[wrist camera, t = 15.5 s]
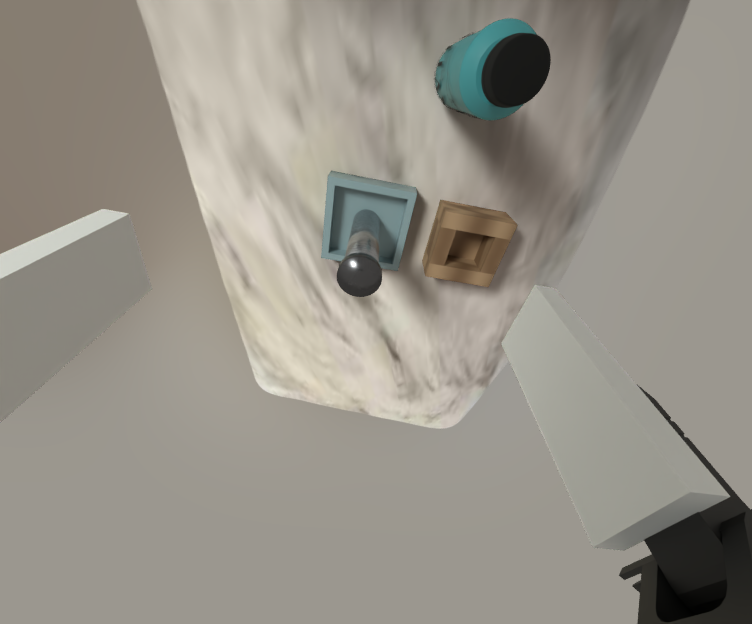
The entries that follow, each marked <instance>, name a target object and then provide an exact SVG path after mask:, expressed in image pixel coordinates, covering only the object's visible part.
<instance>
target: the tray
mask: <svg viewBox="0 0 752 624" xmlns="http://www.w3.org/2000/svg"><path fill="white" fill-rule="evenodd" d="M416 197H417V191H416V187H411V186H406V185H401V184H396V183H391V182H386V181H381V180H376V179H370V178H365V177H360V176H355V175H350V174H345V173H340V172H335V171H331V172H330V173H329V175H328V182H327V194H326V206H325V218H324V231H323V243H322V255H321V258H325V259H331V260H336V261H342V260H343V259H344V258H345V254H346V250H347V245H348V241H349V237H350V232H351V228H352V224H353V219H354V217H355V215H356V214H357V213H358V212H359V211H361V210H365V209H367V210H371V211H373V212H375V213H376V214H377V215H378V217H379V220H380V237H379V264H380V266H381V268H383V269H389V270H394V271H398V268H399V264H400V260H401V256H402V252H403V248H404V244H405V240H406V236H407V232H408V228H409V224H410V220H411V216H412V212H413V208H414V204H415V200H416Z"/></svg>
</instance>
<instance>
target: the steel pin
mask: <svg viewBox="0 0 752 624" xmlns="http://www.w3.org/2000/svg"><path fill="white" fill-rule="evenodd" d="M379 237H380V220H379V217H378V215H377V214H376V213H375V212H373V211H371V210H367V209H365V210H361V211H359V212H358V213H357V214H356V215H355V217H354V219H353V224H352V228H351V232H350V237H349V241H348V245H347V250H346V254H345V258H344V259H343V260H342V261H341V263H340V265H339V268H338V272H337V281H338V284H339V286H340V287H341V288H342V289H343V290H344V291H345V292H346V293H348V294H350V295H352V296H356V297H364V296H368V295H371V294H373V293H374V292H375V291H377V289H378V288H379V287H380V285H381V281H382V269H381V266H380V264H379Z"/></svg>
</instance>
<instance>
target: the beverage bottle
mask: <svg viewBox="0 0 752 624" xmlns="http://www.w3.org/2000/svg"><path fill="white" fill-rule="evenodd" d="M466 36H467V35H466ZM464 37H465V36H464ZM464 37H463V38H464ZM460 39H461V38H460ZM445 51H446V52H445V53H444V52H443V53H444V54H443V56H442V57H441V59H440V60H439V63H438V66H437V65H436V66H437V67H436V68H437V70H436V71H435V72H436V77H435V83H436V90H437V91H436V92H438V94H437V95H438V96H439V98H440V99H441V100H442V101H443V103H444V105H445V104H446V105H447V106H449V107H451V108H452V110H453V108H454V109H457V110H459V111H462V112H460V113H468V114H471V115H474V116H476V117H475V118H477V117H478V119H479V118H481V119H484V120H498V119H502V118H505V117H507V116H509V115H511V114H512V113H514V112H515V111H517V110H518V109H519V108H520V107H521V106H522V105H523V104H524V103H526V102H528V101H529V100H531V99H532V98H533V97H534V96H535V95H536V94H537V93H538V92H539V91H540V89H541V88H542V86H543V85H544V83H545V81H546V79H547V76H548V73H549V69H550V51H549V48H548V46H547V44H546V42H545V41H544V40H543V39H542V38H541V37H540V36H538V35H537V34H536V33H535V31H534V30H533V29H532V28H531V27H530V26H529V25H528V24H526V23H525V22H523V21H521V20H518V19H511V18H510V19H502V20H498V21H496V22H494V23H492V24H490V25H488V26H487V27H485V28H484V29H483V30H481V31H479V32H477V33H475V34H472V35H470V34H469V36H468V37H466V38H464V39H463V40H461V41H459V42H457V43H455V44H453V45H451V46H449V47H448V48H447V49H446V50H445ZM434 76H435V75H434ZM434 85H435V84H434ZM440 99H439V100H440ZM451 108H450V109H451ZM459 111H457V112H459ZM465 115H466V114H465ZM471 115H470V116H471ZM474 116H472V117H474Z"/></svg>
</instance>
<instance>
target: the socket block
mask: <svg viewBox="0 0 752 624" xmlns="http://www.w3.org/2000/svg"><path fill="white" fill-rule="evenodd" d="M516 227H517V224H516V223H515V222H514V221H513V219H512V218H511V217H510V216H509V215H508V214H507V213H506V212H501V211H495V210H490V209H485V208H480V207H475V206H470V205H465V204H460V203H454V202H449V201H444V200H440V203H439V207H438V210H437V213H436V217H435V220H434V223H433V227H432V230H431V233H430V237H429V240H428V243H427V247H426V250H425V253H424V257H423V260H422V262H423V267H424V272H425V276H427V277H433V278H439V279H444V280H450V281H456V282H462V283H468V284H474V285H479V286H485V287H489V285H490V283H491V281H492V279H493V276H494V274H495V272H496V270H497V268H498V266H499V264H500V262H501V259H502V257H503V255H504V253H505V251H506V249H507V247H508V244H509V242H510V240H511V238H512V236H513V234H514V232H515V230H516Z"/></svg>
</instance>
